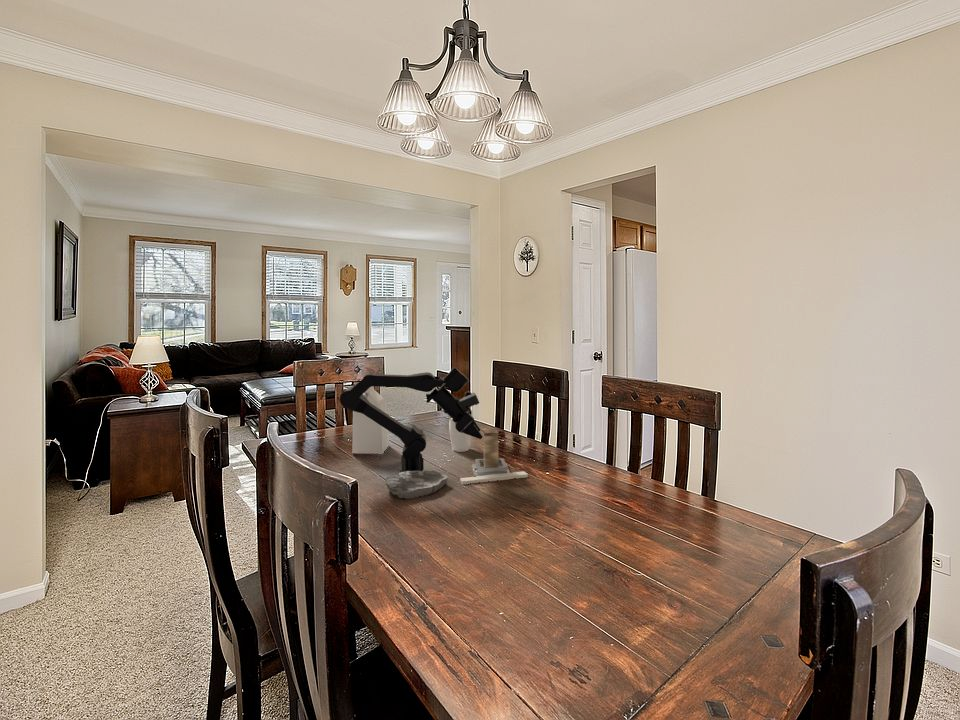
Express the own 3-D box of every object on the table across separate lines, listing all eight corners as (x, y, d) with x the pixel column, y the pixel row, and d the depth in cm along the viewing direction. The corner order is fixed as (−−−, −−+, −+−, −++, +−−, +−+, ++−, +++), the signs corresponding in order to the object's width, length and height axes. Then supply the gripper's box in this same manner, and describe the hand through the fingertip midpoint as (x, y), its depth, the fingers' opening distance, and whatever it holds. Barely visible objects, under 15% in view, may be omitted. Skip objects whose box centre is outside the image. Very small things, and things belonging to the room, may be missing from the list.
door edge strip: (462, 484, 153) (462, 481, 153) (459, 481, 156) (459, 478, 156) (527, 477, 159) (527, 474, 159) (524, 474, 162) (524, 471, 162)
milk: (382, 454, 184) (381, 386, 181) (352, 454, 184) (350, 386, 182) (389, 446, 196) (387, 381, 193) (360, 446, 196) (358, 381, 194)
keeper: (474, 476, 160) (474, 468, 160) (472, 465, 171) (472, 458, 171) (510, 475, 161) (510, 467, 161) (506, 465, 172) (506, 457, 172)
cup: (462, 454, 185) (462, 423, 183) (444, 450, 190) (444, 419, 189) (476, 448, 192) (476, 418, 190) (459, 445, 197) (459, 415, 196)
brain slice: (417, 475, 163) (417, 466, 162) (455, 486, 152) (455, 477, 152) (370, 492, 147) (369, 482, 147) (408, 506, 137) (408, 495, 136)
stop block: (484, 471, 163) (484, 433, 162) (483, 466, 168) (483, 429, 167) (498, 470, 164) (498, 432, 162) (496, 466, 168) (496, 429, 167)
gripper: (466, 389, 153) (501, 424, 155) (463, 381, 171) (494, 411, 173) (441, 414, 153) (475, 448, 155) (441, 403, 172) (472, 434, 174)
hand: (480, 434), depth 164 cm, fingers open, 9 cm apart
